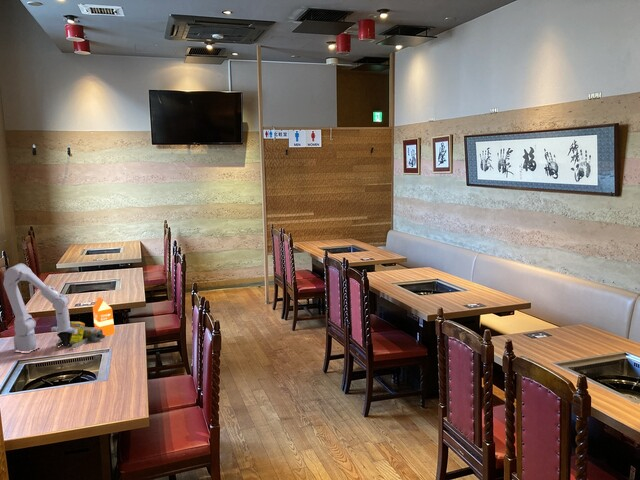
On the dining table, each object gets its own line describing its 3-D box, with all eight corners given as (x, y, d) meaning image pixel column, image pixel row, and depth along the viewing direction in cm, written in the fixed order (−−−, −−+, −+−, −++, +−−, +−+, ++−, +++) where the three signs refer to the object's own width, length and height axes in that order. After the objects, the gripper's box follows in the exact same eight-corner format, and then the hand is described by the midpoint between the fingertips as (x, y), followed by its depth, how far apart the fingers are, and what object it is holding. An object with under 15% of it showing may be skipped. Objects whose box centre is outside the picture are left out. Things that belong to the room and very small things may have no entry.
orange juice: (109, 329, 277) (106, 295, 273) (114, 333, 270) (111, 298, 266) (94, 333, 272) (91, 298, 268) (100, 337, 265) (96, 301, 262)
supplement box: (70, 344, 251) (74, 323, 252) (64, 342, 255) (68, 321, 256) (81, 344, 256) (85, 323, 257) (75, 342, 260) (79, 321, 260)
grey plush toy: (50, 347, 253) (49, 336, 252) (75, 335, 269) (74, 324, 268) (84, 351, 247) (83, 340, 246) (108, 338, 263) (106, 328, 262)
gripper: (45, 321, 247) (48, 347, 250) (68, 324, 243) (71, 350, 246) (56, 316, 254) (59, 341, 256) (79, 319, 250) (82, 344, 252)
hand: (66, 345), depth 252 cm, fingers closed
